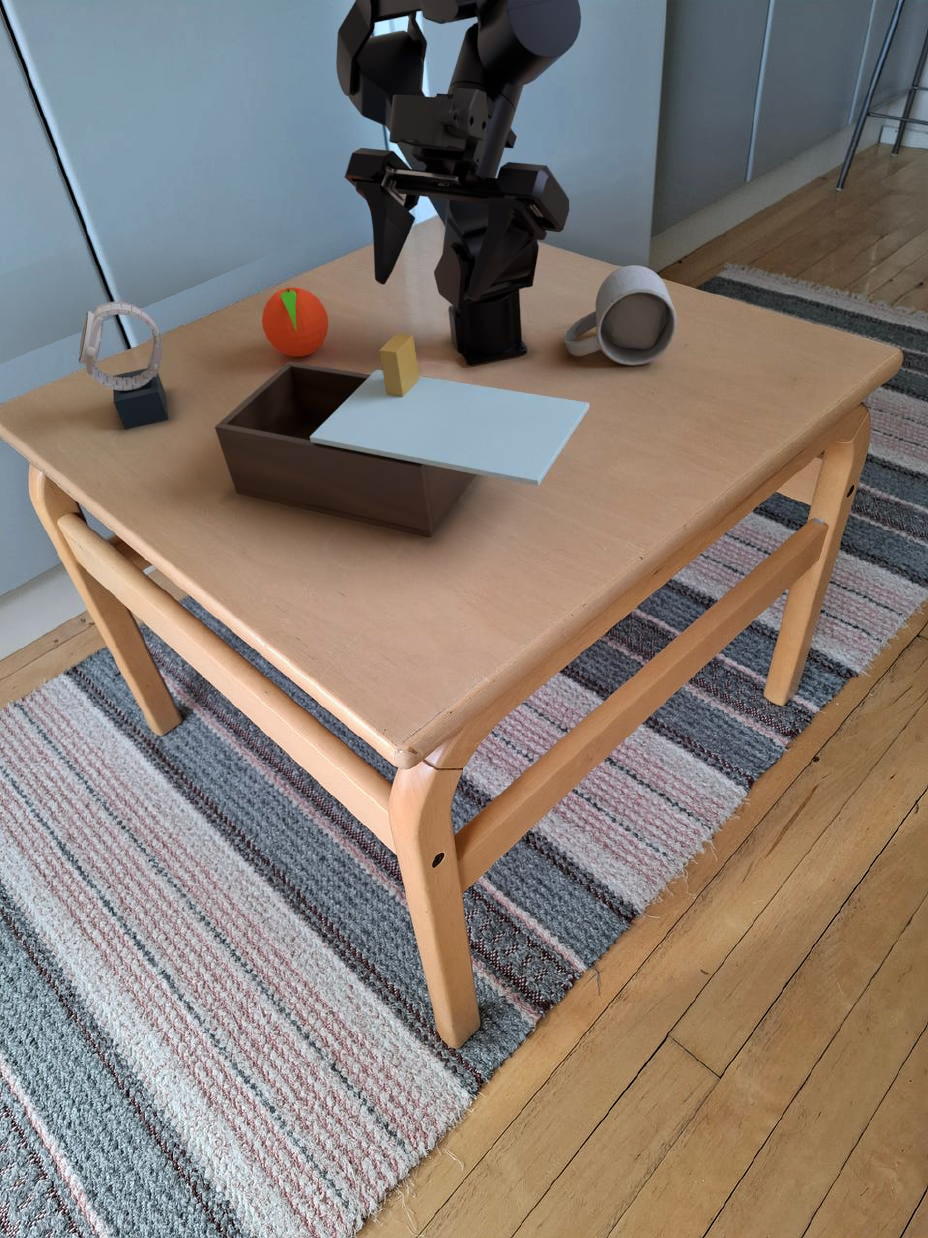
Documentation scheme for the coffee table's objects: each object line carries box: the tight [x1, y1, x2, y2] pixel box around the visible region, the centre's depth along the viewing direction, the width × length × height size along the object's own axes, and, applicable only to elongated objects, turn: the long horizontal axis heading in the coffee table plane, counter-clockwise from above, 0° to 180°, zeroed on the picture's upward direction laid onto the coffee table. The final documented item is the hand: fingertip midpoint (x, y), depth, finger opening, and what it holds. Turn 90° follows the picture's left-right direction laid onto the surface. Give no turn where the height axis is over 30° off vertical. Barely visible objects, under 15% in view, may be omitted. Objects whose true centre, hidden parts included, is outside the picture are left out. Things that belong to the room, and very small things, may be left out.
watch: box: [78, 301, 169, 430], centre depth 88 cm, size 6×8×11 cm
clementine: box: [261, 286, 329, 358], centre depth 95 cm, size 8×7×7 cm
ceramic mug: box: [563, 264, 678, 366], centre depth 90 cm, size 11×8×8 cm
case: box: [214, 361, 478, 538], centre depth 78 cm, size 11×19×7 cm, turn 65°
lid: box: [310, 333, 590, 487], centre depth 70 cm, size 11×19×4 cm, turn 65°
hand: (424, 290), depth 75 cm, fingers open, 9 cm apart
